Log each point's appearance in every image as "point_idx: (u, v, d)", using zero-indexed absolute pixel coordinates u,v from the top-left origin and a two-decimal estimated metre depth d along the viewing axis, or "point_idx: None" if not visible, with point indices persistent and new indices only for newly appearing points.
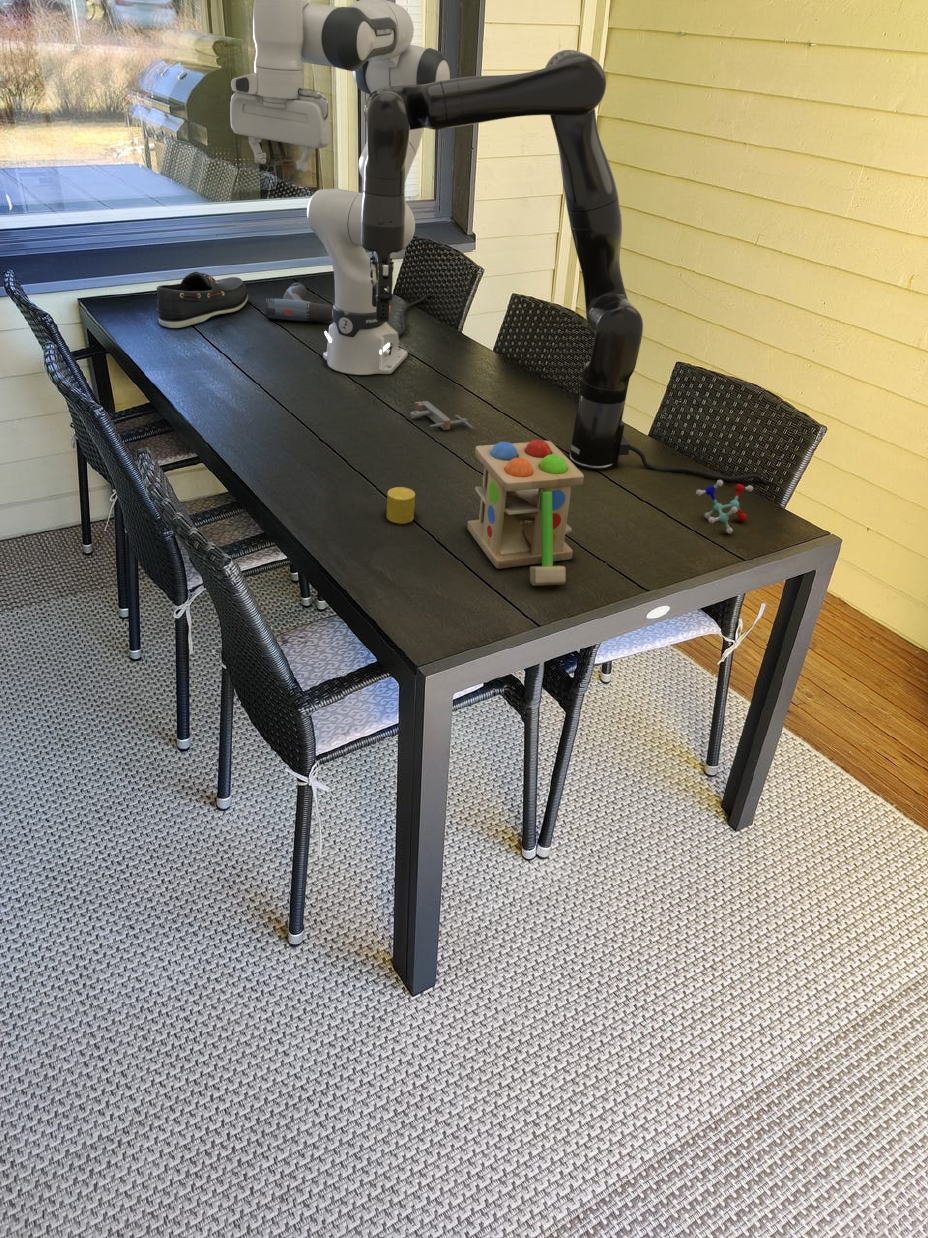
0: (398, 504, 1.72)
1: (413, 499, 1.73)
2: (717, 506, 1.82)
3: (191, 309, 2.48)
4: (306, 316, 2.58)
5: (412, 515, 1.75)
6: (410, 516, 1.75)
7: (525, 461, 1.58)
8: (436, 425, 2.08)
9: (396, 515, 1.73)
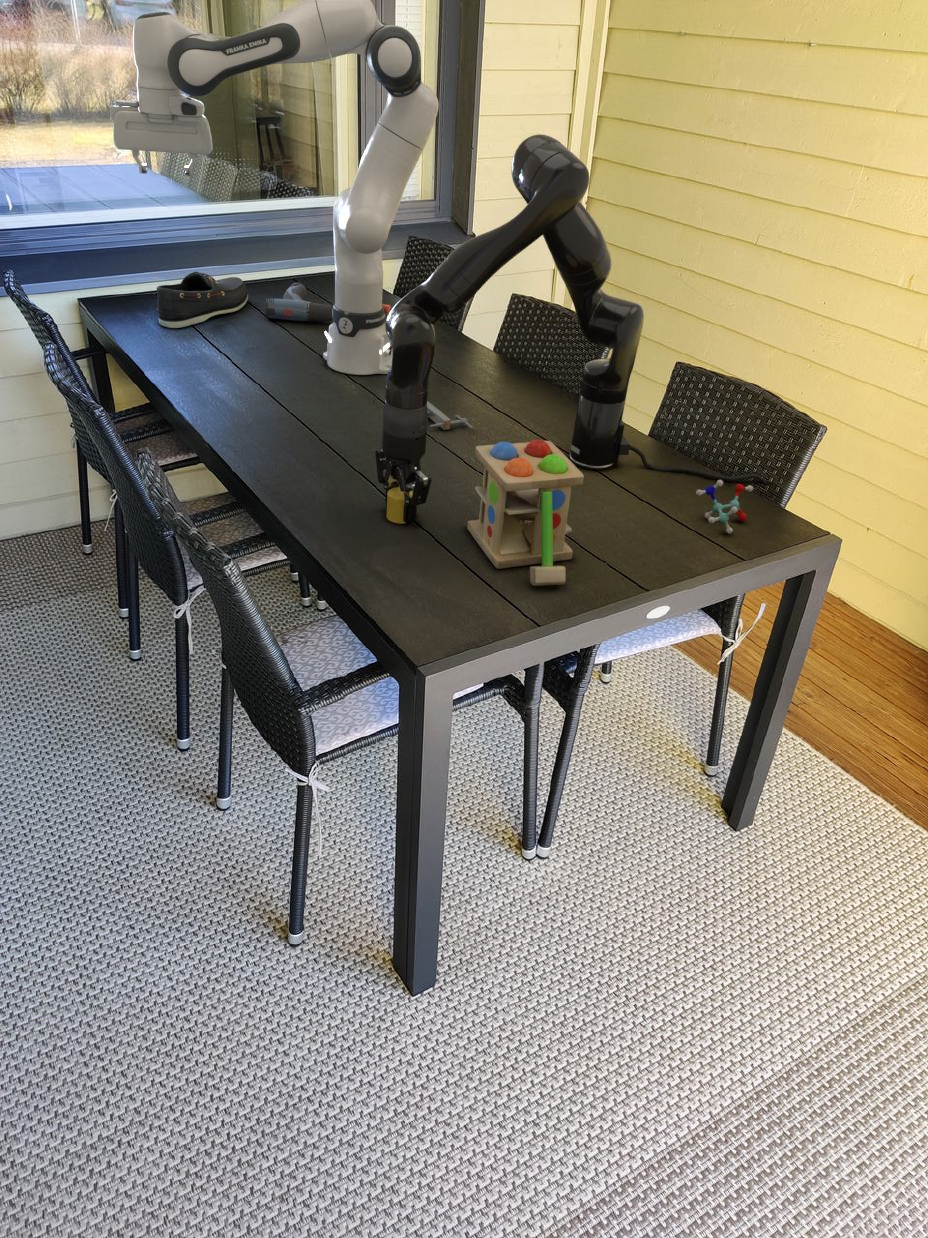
0: (398, 504, 1.72)
1: None
2: (717, 506, 1.82)
3: (191, 309, 2.48)
4: (306, 316, 2.58)
5: None
6: None
7: (525, 461, 1.58)
8: (436, 425, 2.08)
9: (396, 515, 1.73)
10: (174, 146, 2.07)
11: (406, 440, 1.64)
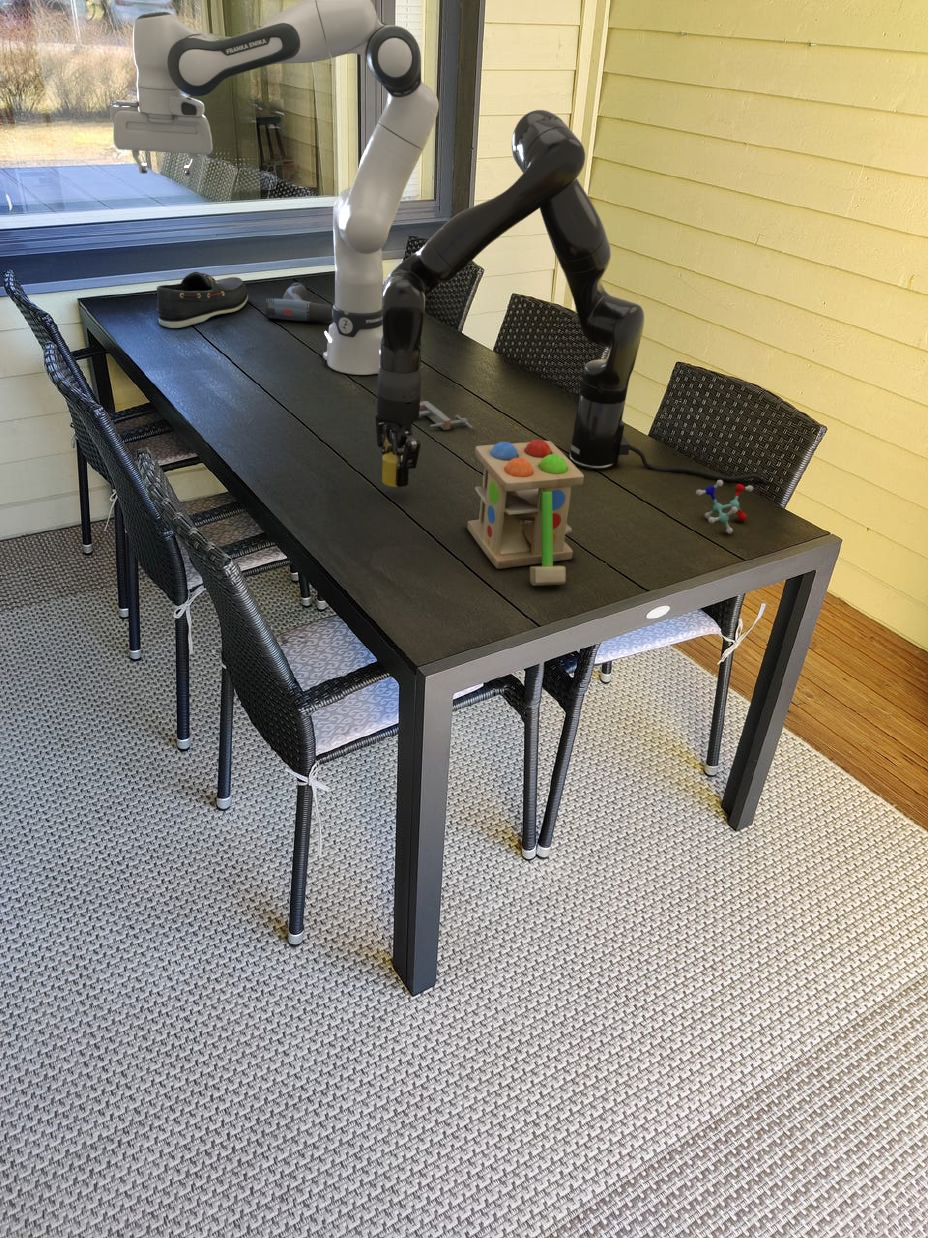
0: (391, 467, 1.77)
1: None
2: (717, 506, 1.82)
3: (191, 309, 2.48)
4: (306, 316, 2.58)
5: None
6: None
7: (525, 461, 1.58)
8: (436, 425, 2.08)
9: (389, 478, 1.78)
10: (174, 146, 2.07)
11: (396, 404, 1.68)
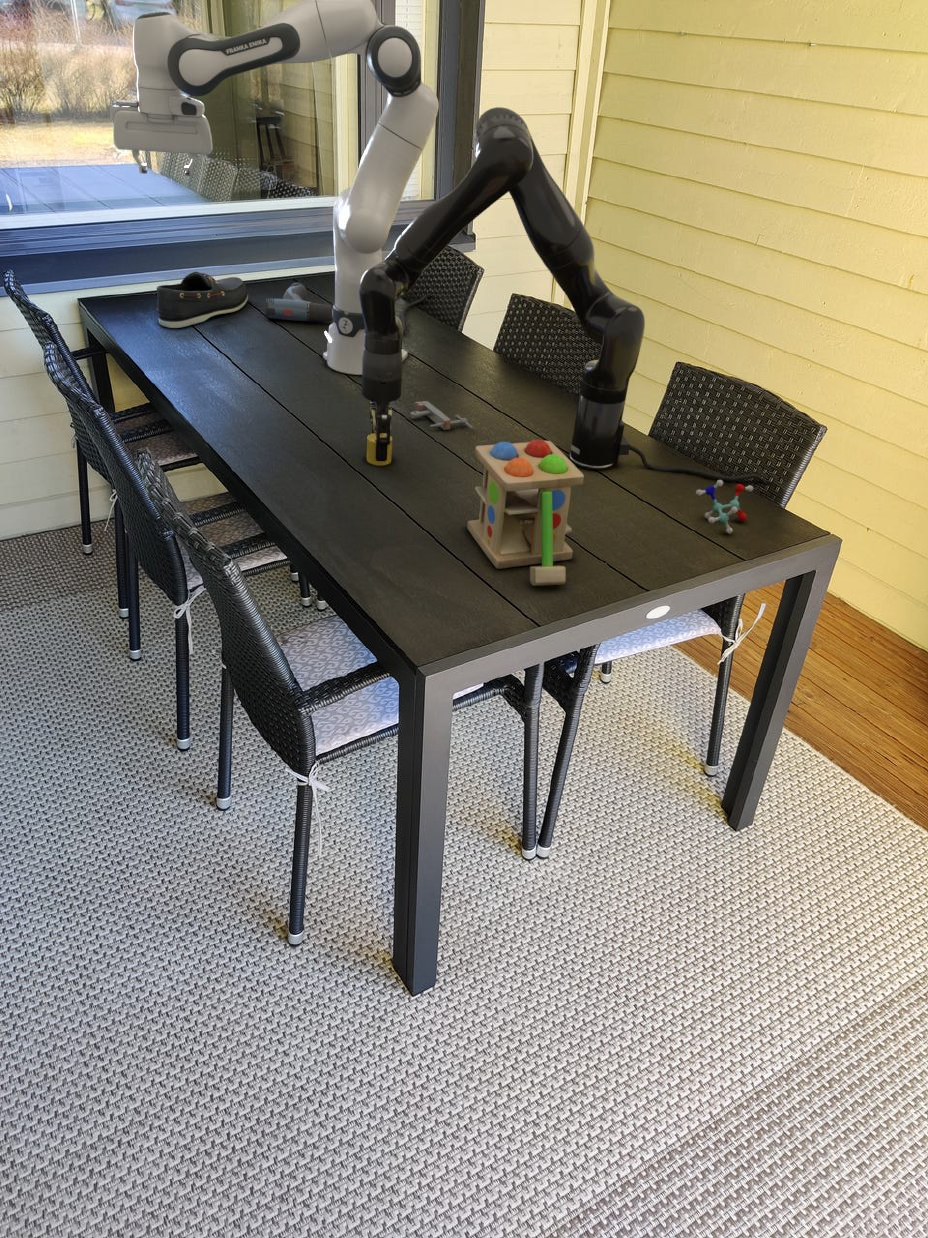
0: (371, 445, 1.91)
1: None
2: (717, 506, 1.82)
3: (191, 309, 2.48)
4: (306, 316, 2.58)
5: None
6: None
7: (525, 461, 1.58)
8: (436, 425, 2.08)
9: (370, 455, 1.93)
10: (174, 146, 2.07)
11: (373, 382, 1.82)
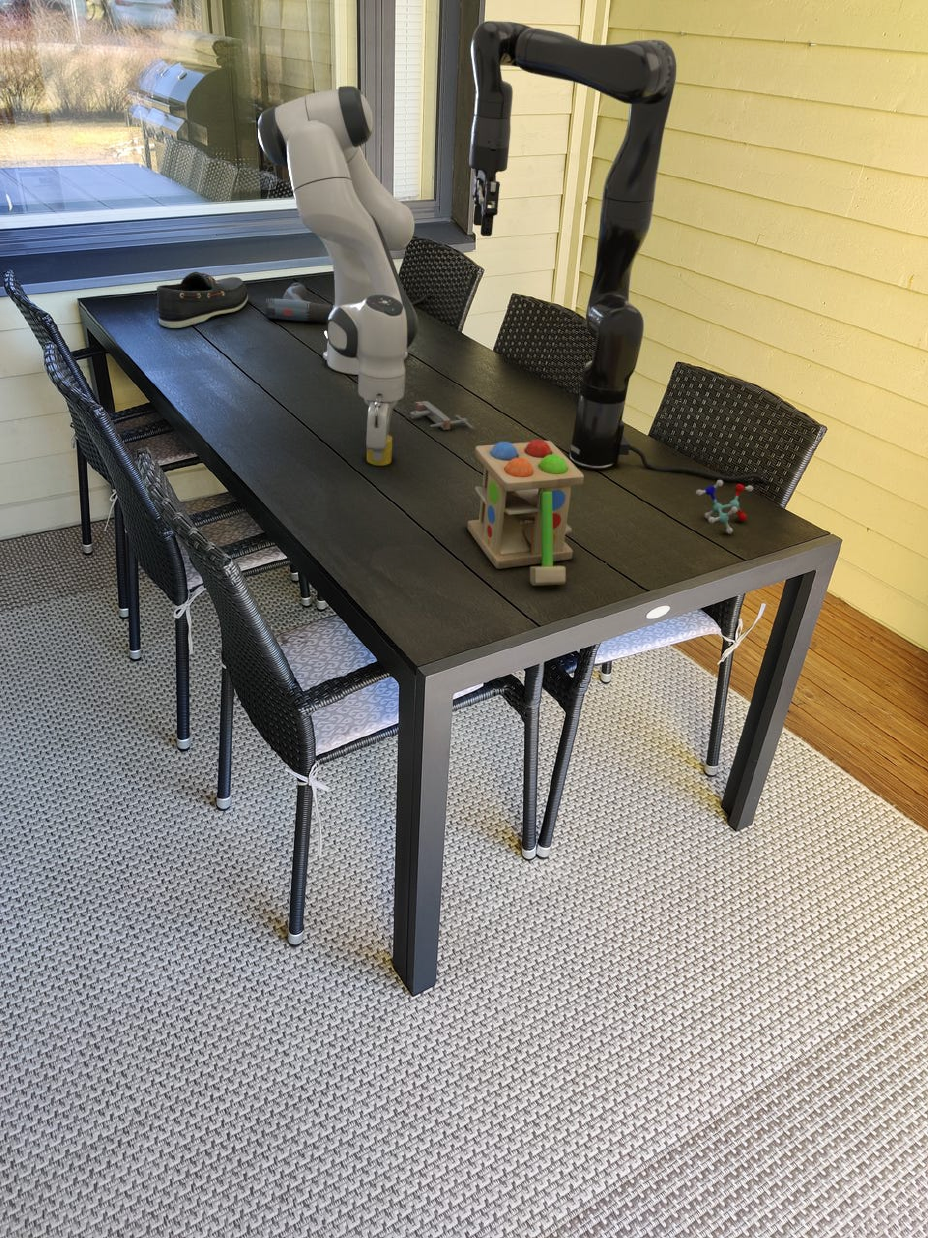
0: None
1: (386, 445, 1.91)
2: (717, 506, 1.82)
3: (191, 309, 2.48)
4: (306, 316, 2.58)
5: (385, 460, 1.93)
6: (382, 460, 1.93)
7: (525, 461, 1.58)
8: (436, 425, 2.08)
9: (370, 455, 1.93)
10: None
11: (482, 149, 1.86)
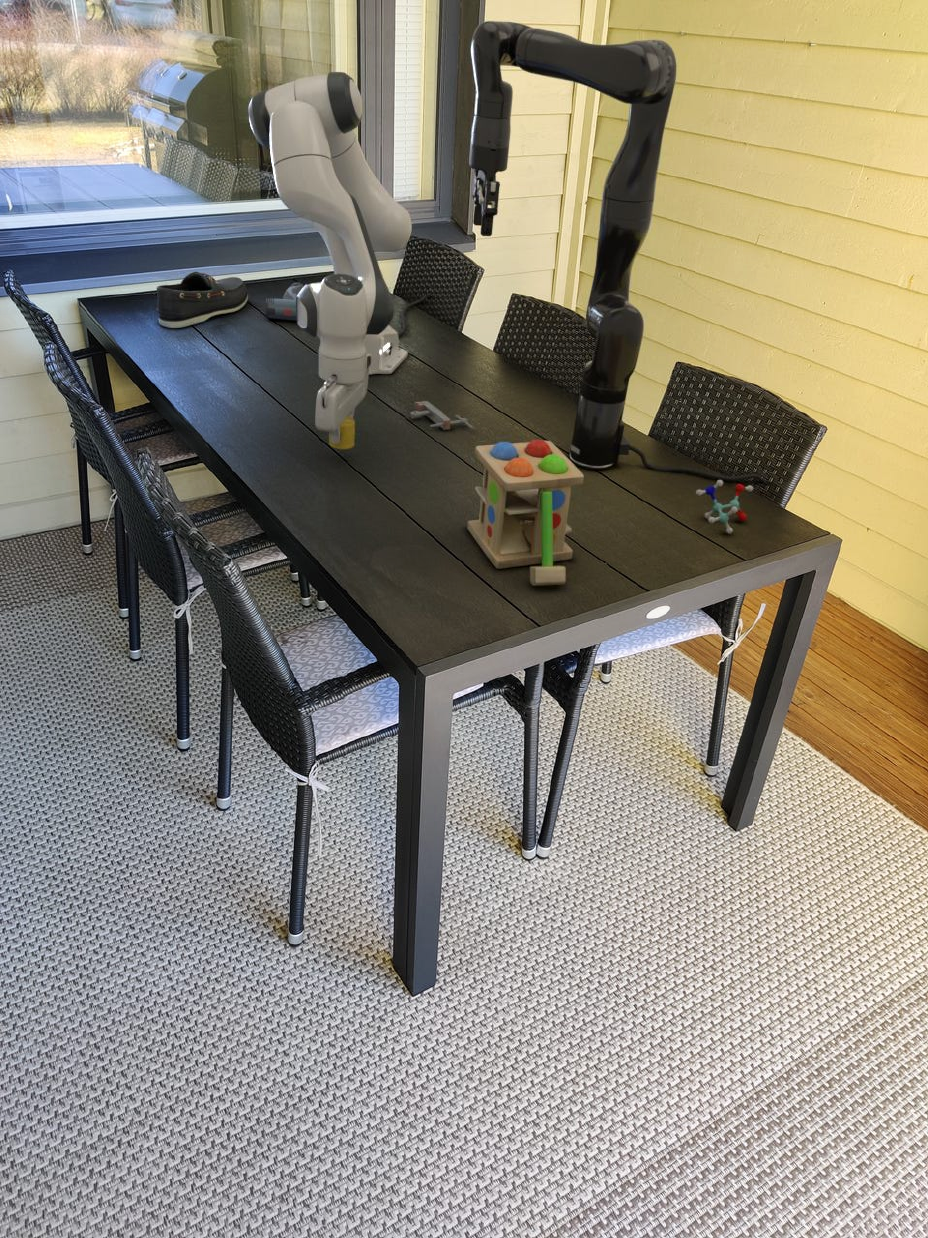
0: None
1: (346, 428, 1.88)
2: (717, 506, 1.82)
3: (191, 309, 2.48)
4: None
5: (345, 444, 1.89)
6: (342, 444, 1.89)
7: (525, 461, 1.58)
8: (436, 425, 2.08)
9: None
10: (354, 404, 1.89)
11: (482, 149, 1.86)
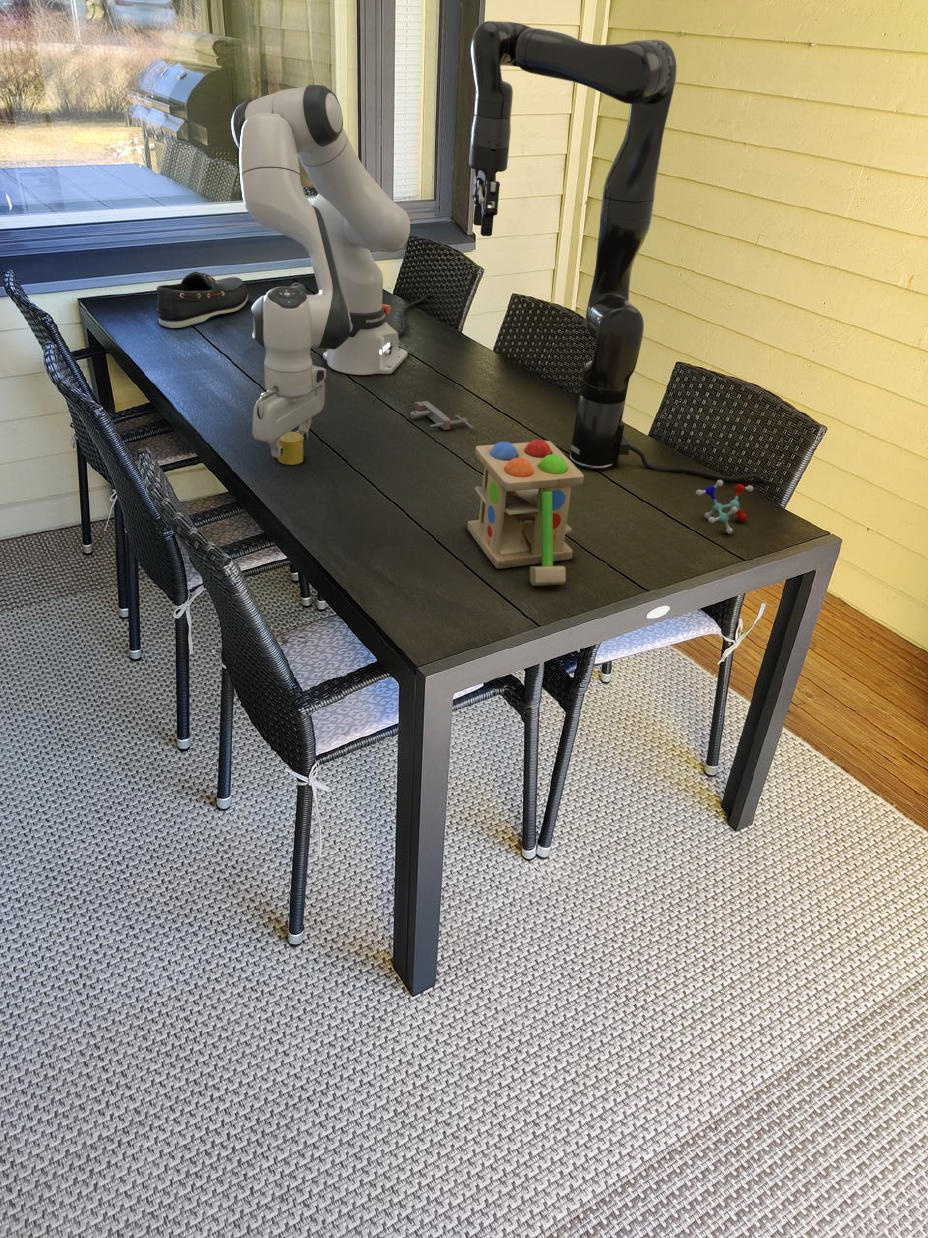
0: None
1: (291, 444, 1.88)
2: (717, 506, 1.82)
3: (191, 309, 2.48)
4: None
5: (291, 459, 1.90)
6: (287, 459, 1.89)
7: (525, 461, 1.58)
8: (436, 425, 2.08)
9: None
10: (304, 417, 1.89)
11: (482, 149, 1.86)
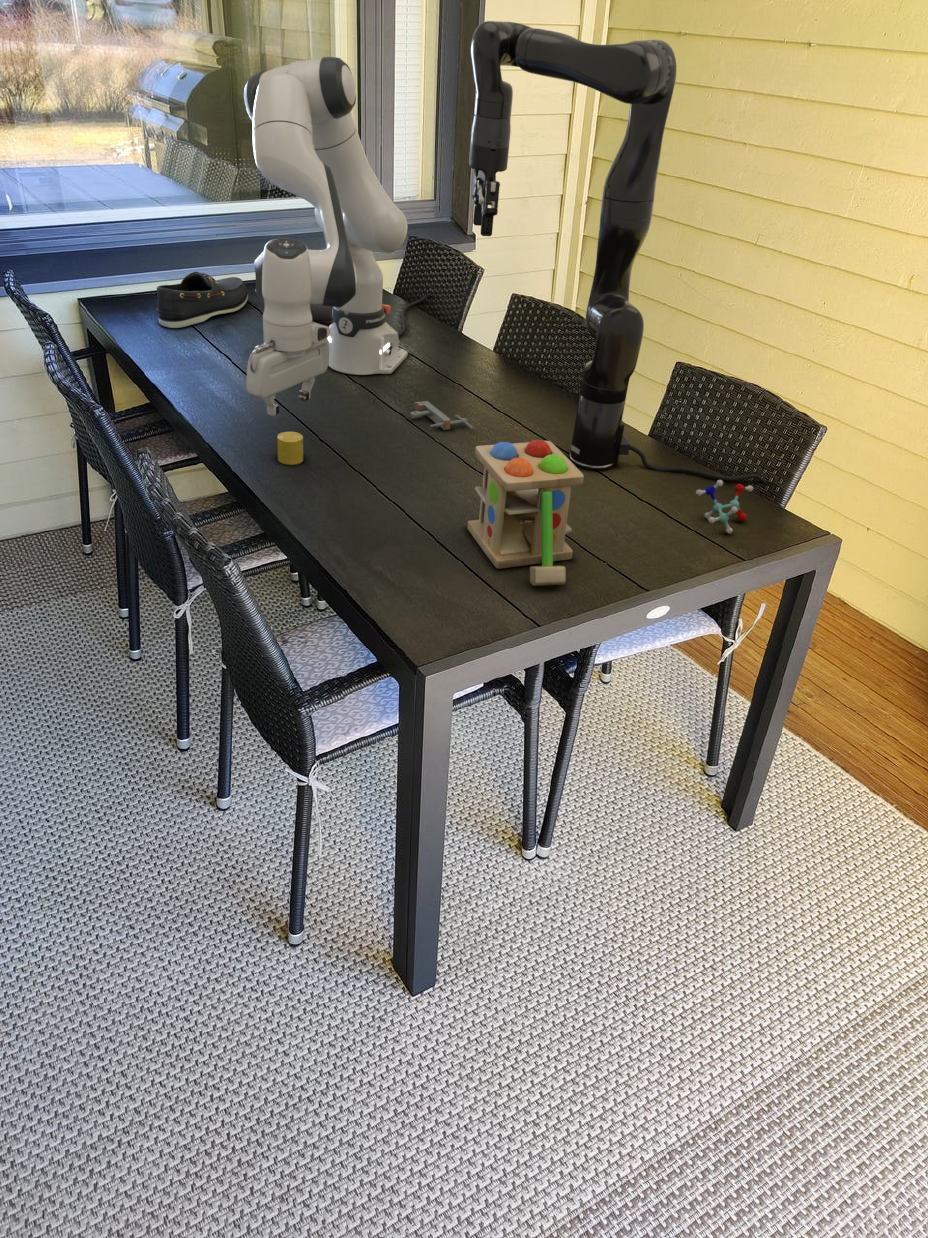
0: (278, 443, 1.89)
1: (291, 444, 1.88)
2: (717, 506, 1.82)
3: (191, 309, 2.48)
4: None
5: (291, 459, 1.90)
6: (287, 459, 1.89)
7: (525, 461, 1.58)
8: (436, 425, 2.08)
9: (278, 453, 1.90)
10: (304, 376, 1.84)
11: (482, 149, 1.86)
